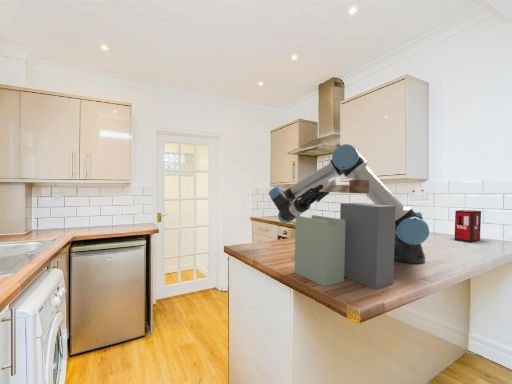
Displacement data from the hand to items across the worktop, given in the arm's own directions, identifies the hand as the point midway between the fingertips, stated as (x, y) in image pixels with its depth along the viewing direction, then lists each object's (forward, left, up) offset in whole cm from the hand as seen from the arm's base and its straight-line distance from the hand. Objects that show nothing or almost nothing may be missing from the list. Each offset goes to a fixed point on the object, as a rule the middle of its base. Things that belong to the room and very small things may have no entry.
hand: (331, 182), depth 110 cm
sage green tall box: (+2, +15, -36) cm, 40 cm away
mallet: (-3, +2, -4) cm, 6 cm away
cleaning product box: (-78, -101, -37) cm, 132 cm away
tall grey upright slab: (-14, +10, -36) cm, 40 cm away
